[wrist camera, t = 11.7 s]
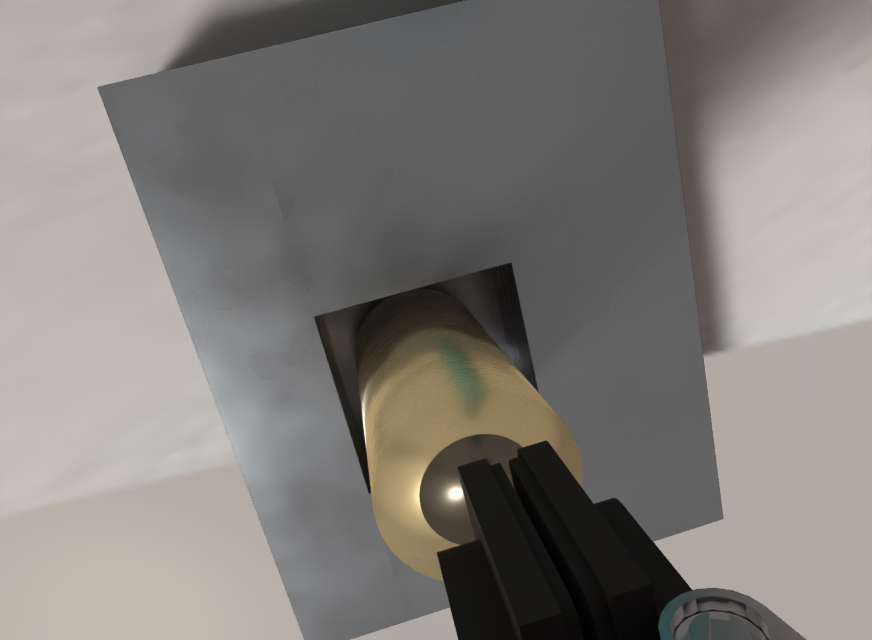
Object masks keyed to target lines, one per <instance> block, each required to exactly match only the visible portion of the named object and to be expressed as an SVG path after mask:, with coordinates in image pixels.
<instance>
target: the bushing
mask: <svg viewBox="0 0 872 640" xmlns="http://www.w3.org/2000/svg"><path fill="white" fill-rule="evenodd" d="M355 356H356V366H357V375H358V383H359V392H360V400H361V409H362V417H363V426H364V434H365V443H366V452H367V460H368V469H369V477H370V486H371V494H372V503H373V511H374V515H375V520H376V523H377V526H378V528H379V531H380V533H381V535H382V537H383V539H384V540H385V542H386V544H387V545H388V547H389V548H390V549H391V550H392V552H393V553H394V554H395V555H396V556H397V557H398V558H399V559H400V560H401V561H403V562H404V563H405V564H406V565H408V566H409V567H411V568H412V569H414V570H415V571H417V572H419V573H421V574H423V575H425V576H428V577H431V578H434V579H437V580H441V581H443V577H442V573H441V569H440V565H439V561H438V556H437V552H439V551H443V550H446V549H449V548H452V547H456V546H459V545H462V544H465V543H469V542H472V541H475V536H474V532H473V528H472V524H471V521H470V517H469V513H468V509H467V505H466V501H465V498H464V494H463V490H462V486H461V482H460V478H459V474H458V470H457V467H458V466H462V465H465V464H468V463H472V462H475V461H478V460H482V459H485V458H486V459H487V460H488V462H489V464H490V465H494V464H497V463H500V464H501V465H502V467H503V469H504V471H505V473H506V475H507V477H508V478H509V480H510V482H511V484H512V486H513V488H514V485H513V481H512V477H511V472H510V468H509V462H508V461H509V460H510V459H514V458H517V457H518V456H517V449H519V448H522V447H525V446H529V445H532V444H535V443H539V442H542V441H545V440H547V441H548V442H549V443H550V445H551V446H552V447H553V449H554V450H555V451H556V453H557V454H558V456H559V457H560V458H561V460H562V461H563V462H564V464H565V465H566V467H567V468H568V469H569V471H570V472H571V473H572V475H573V476H574V477H575V479H576V480H577V482H578V483H579V484H580V486H581V487H582V484H583V469H582V461H581V457H580V453H579V449H578V446H577V444H576V442H575V440H574V437H573V436H572V434H571V432H570V431H569V429H568V428H567V426H566V425H565V424H564V423H563V421H562V420H561V419H560V418H559V417H558V415H557V414H556V413H555V412H554V411H553V410H552V408H551V407H550V406H549V405H548V404H547V402H546V401H545V400H544V399H543V398H542V397H541V395H540V394H539V393H538V392H537V391H536V390H535V388H534V387H533V386H532V385H531V384H530V382H529V381H528V380H527V379H526V378H525V377H524V375H523V374H522V373H521V372H520V371H519V369H518V368H517V367H516V366H515V365H514V364H513V362H512V361H511V360H510V359H509V358H508V356H507V355H506V354H505V353H504V352H503V351H502V349H501V348H500V347H499V346H498V345H497V344H496V342H495V341H494V340H493V339H492V338H491V336H490V335H489V334H488V333H487V332H486V331H485V329H484V328H483V327H482V326H481V325H480V323H479V322H478V321H477V320H476V319H475V318H474V316H473V315H472V314H471V313H470V312H469V311H468V309H467V308H466V307H465V306H464V305H463V304H462V303H460V302H459V301H458V300H456V299H455V298H453V297H452V296H450V295H447V294H445V293H443V292H439V291H436V290H430V289H412V290H409V291H405V292H401V293H398V294H394V295H392V296H390V297H388V298H387V299H385V300H384V301H382V302H381V303H379V304H378V305H377V306H376V307H375V308H374V309H373V310H372V311H371V312H370V313H369V314H368V316H367V317H366V319H365V320H364V322H363V324H362V326H361V328H360V330H359V333H358V336H357V341H356V349H355ZM514 490H515V489H514Z"/></svg>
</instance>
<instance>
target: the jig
mask: <svg viewBox="0 0 872 640" xmlns="http://www.w3.org/2000/svg"><path fill="white" fill-rule="evenodd" d="M97 88H98V90H99V93H100V96H101V98H102V101H103V104H104V106H105V109H106V112H107V114H108V117H109V120H110V122H111V125H112V128H113V130H114V133H115V136H116V138H117V141H118V144H119V146H120V149H121V152H122V154H123V157H124V160H125V162H126V165H127V168H128V170H129V173H130V176H131V178H132V181H133V184H134V186H135V189H136V192H137V195H138V197H139V200H140V203H141V205H142V208H143V211H144V213H145V216H146V219H147V221H148V224H149V227H150V229H151V232H152V235H153V237H154V240H155V243H156V245H157V248H158V251H159V253H160V256H161V259H162V261H163V264H164V267H165V269H166V272H167V275H168V277H169V280H170V283H171V285H172V288H173V291H174V293H175V296H176V299H177V301H178V304H179V307H180V309H181V312H182V315H183V317H184V320H185V323H186V325H187V328H188V331H189V333H190V336H191V339H192V341H193V344H194V347H195V349H196V352H197V355H198V357H199V360H200V363H201V365H202V368H203V371H204V373H205V376H206V379H207V381H208V384H209V387H210V389H211V392H212V395H213V397H214V400H215V403H216V405H217V408H218V411H219V413H220V416H221V419H222V421H223V424H224V427H225V429H226V432H227V435H228V437H229V440H230V443H231V445H232V448H233V451H234V453H235V456H236V459H237V461H238V464H239V467H240V469H241V472H242V475H243V477H244V480H245V483H246V486H247V488H248V491H249V493H250V496H251V499H252V502H253V504H254V507H255V509H256V512H257V515H258V517H259V520H260V523H261V525H262V528H263V531H264V534H265V536H266V538H267V542H268V544H269V547H270V549H271V552H272V555H273V558H274V560H275V563H276V566H277V568H278V571H279V574H280V576H281V579H282V582H283V584H284V587H285V590H286V592H287V595H288V597H289V600H290V603H291V606H292V608H293V611H294V613H295V616H296V619H297V622H298V624H299V627H300V630H301V632H302V635H303V638H304V640H350V639H353V638H356V637H360V636H363V635H365V634H369V633H372V632H375V631H378V630H381V629H384V628H387V627H390V626H393V625H397V624H400V623H403V622H406V621H409V620H412V619H415V618H418V617H421V616H424V615H427V614H431V613H434V612H437V611H440V610H443V609H446V608H449V607H450V604H449V600H448V596H447V592H446V588H445V585H444V581H441V580H437V579H434V578H431V577H428V576H425V575H423V574H421V573H419V572H417V571H415V570H414V569H412V568H411V567H409V566H408V565H406V564H405V563H404V562H403V561H401V560H400V559H399V558H398V557H397V556H396V555H395V554H394V553H393V552H392V550H391V549H390V548H389V547H388V545H387V544H386V542H385V540H384V539H383V537H382V535H381V533H380V531H379V528H378V526H377V523H376V520H375V515H374V511H373V503H372V494H371V486H370V477H369V469H368V460H367V452H366V443H365V434H364V426H363V417H362V409H361V400H360V392H359V383H358V375H357V366H356V356H355V349H356V341H357V336H358V333H359V330H360V328H361V326H362V324H363V322H364V320H365V319H366V317H367V316H368V314H369V313H370V312H371V311H372V310H373V309H374V308H375V307H376V306H377V305H378V304H379V303H381V302H382V301H384V300H385V299H387V298H388V297H390V296H392V295H394V294H398V293H401V292H405V291H409V290H412V289H430V290H436V291H439V292H443V293H445V294H447V295H450V296H452V297H453V298H455V299H456V300H458V301H459V302H460V303H462V304H463V305H464V306H465V307H466V308H467V309H468V311H469V312H470V313H471V314H472V315H473V316H474V318H475V319H476V320H477V321H478V322H479V323H480V325H481V326H482V327H483V328H484V329H485V331H486V332H487V333H488V334H489V335H490V336H491V338H492V339H493V340H494V341H495V342H496V344H497V345H498V346H499V347H500V348H501V349H502V351H503V352H504V353H505V354H506V355H507V356H508V358H509V359H510V360H511V361H512V362H513V364H514V365H515V366H516V367H517V368H518V369H519V371H520V372H521V373H522V374H523V375H524V377H525V378H526V379H527V380H528V381H529V382H530V384H531V385H532V386H533V387H534V388H535V390H536V391H537V392H538V393H539V394H540V395H541V397H542V398H543V399H544V400H545V401H546V402H547V404H548V405H549V406H550V407H551V408H552V410H553V411H554V412H555V413H556V414H557V415H558V417H559V418H560V419H561V420H562V421H563V423H564V424H565V425H566V426H567V428H568V429H569V431H570V432H571V434H572V436H573V437H574V440H575V442H576V444H577V446H578V449H579V453H580V457H581V461H582V469H583V484H582V488H583V490H584V491H585V493H586V494H587V495H588V497H589V498H590V499H591V501H592V502H593V504H595V503H598V502H601V501H605V500H608V499H611V498H617V499H618V500H619V501H620V502H621V503H622V504H623V505H624V506H625V508H626V509H627V510H628V511H629V513H630V514H631V515H632V516H633V518H634V519H635V520H636V521H637V522H638V524H639V525H640V526H641V527H642V529H643V530H644V531H645V532H646V534H647V535H648V536H649V537H650V539H651V540H652V541H653V542H654V541H656V540H660V539H663V538H665V537H669V536H672V535H675V534H678V533H681V532H684V531H687V530H690V529H694V528H697V527H700V526H703V525H706V524H709V523H712V522H715V521H718V520H721V519H723V512H722V504H721V495H720V487H719V479H718V471H717V464H716V455H715V447H714V439H713V431H712V423H711V415H710V407H709V399H708V391H707V383H706V376H705V367H704V359H703V351H702V343H701V335H700V327H699V319H698V311H697V303H696V295H695V287H694V279H693V271H692V263H691V255H690V247H689V239H688V231H687V223H686V215H685V207H684V199H683V191H682V183H681V175H680V167H679V159H678V151H677V143H676V135H675V127H674V119H673V111H672V103H671V95H670V86H669V78H668V70H667V62H666V54H665V46H664V38H663V30H662V22H661V14H660V6H659V0H465V1H460V2H456V3H452V4H448V5H443V6H439V7H435V8H431V9H426V10H422V11H418V12H414V13H409V14H405V15H401V16H397V17H392V18H388V19H384V20H380V21H375V22H371V23H367V24H363V25H359V26H354V27H350V28H346V29H342V30H337V31H333V32H329V33H325V34H320V35H316V36H312V37H308V38H303V39H299V40H295V41H291V42H286V43H282V44H278V45H274V46H269V47H265V48H261V49H257V50H253V51H248V52H244V53H240V54H236V55H231V56H227V57H223V58H219V59H214V60H210V61H206V62H202V63H197V64H193V65H189V66H185V67H180V68H176V69H172V70H168V71H163V72H159V73H155V74H151V75H146V76H142V77H138V78H134V79H130V80H125V81H121V82H117V83H113V84H108V85H104V86H100V87H97Z"/></svg>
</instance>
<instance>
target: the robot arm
mask: <svg viewBox="0 0 872 640" xmlns="http://www.w3.org/2000/svg"><path fill="white" fill-rule="evenodd" d="M517 456H518V457H517V458H514V459H510V460H509V461H508V462H509V468H510V472H511V477H512V481H513V485H514V488H513V486H512V484H511V482H510V480H509V478H508V477H507V475H506V473H505V471H504V469H503V467H502V465H501V464H500V463H497V464H494V465H490V464H489V462H488V460H487V459H486V458H485V459H482V460H478V461H475V462H472V463H468V464H465V465H462V466H458V467H457V470H458V474H459V478H460V482H461V486H462V490H463V494H464V498H465V501H466V505H467V509H468V513H469V517H470V521H471V524H472V528H473V532H474V536H475V541H472V542H469V543H465V544H462V545H459V546H456V547H452V548H449V549H446V550H443V551H439V552H437V556H438V561H439V565H440V569H441V573H442V577H443V581H444V585H445V588H446V592H447V596H448V600H449V604H450V608H451V612H452V616H453V620H454V624H455V628H456V632H457V636H458V640H806V639H805V638H804V637H803V636H801V635H800V634H799V633H798V632H796V631H795V630H794V629H792V628H791V627H790V626H789V625H788V624H787V623H785V622H784V621H783V620H782V619H780V618H779V617H778V616H777V615H775V614H774V613H773V612H772V611H770V610H769V609H768V608H767V607H766V606H764V605H763V604H761V603H759V602H758V601H756V600H755V599H753V598H751V597H750V596H747V595H744V594H741V593H738V592H735V591H733V590H726V589H719V588H705V589H695V590H692V589H691V588H690V587H689V585H688V584H687V583H686V582H685V580H684V579H683V578H682V577H681V576H680V574H679V573H678V572H677V571H676V569H675V568H674V567H673V566H672V564H671V563H670V562H669V561H668V559H666V557H665V556H664V555H663V553H662V552H661V551H660V550H659V548H658V547H657V546H656V545H655V543H654V542H653V541H652V540H651V539H650V537H649V536H648V535H647V534H646V532H645V531H644V530H643V529H642V527H641V526H640V525H639V524H638V522H637V521H636V520H635V519H634V518H633V516H632V515H631V514H630V513H629V511H628V510H627V509H626V508H625V506H624V505H623V504H622V503H621V502H620V501H619V500H618V499H617V498H611V499H608V500H605V501H601V502H598V503H595V504H593V502H592V501H591V499H590V498H589V497H588V495H587V494H586V493H585V491H584V490H583V488H582V487H581V486H580V484H579V483H578V482H577V480H576V479H575V477H574V476H573V475H572V473H571V472H570V471H569V469H568V468H567V467H566V465H565V464H564V462H563V461H562V460H561V458H560V457H559V456H558V454H557V453H556V451H555V450H554V449H553V447H552V446H551V445H550V443H549V442H548V441H547V440H545V441H542V442H539V443H535V444H532V445H529V446H525V447H522V448H519V449H517ZM514 489H515V490H514Z"/></svg>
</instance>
